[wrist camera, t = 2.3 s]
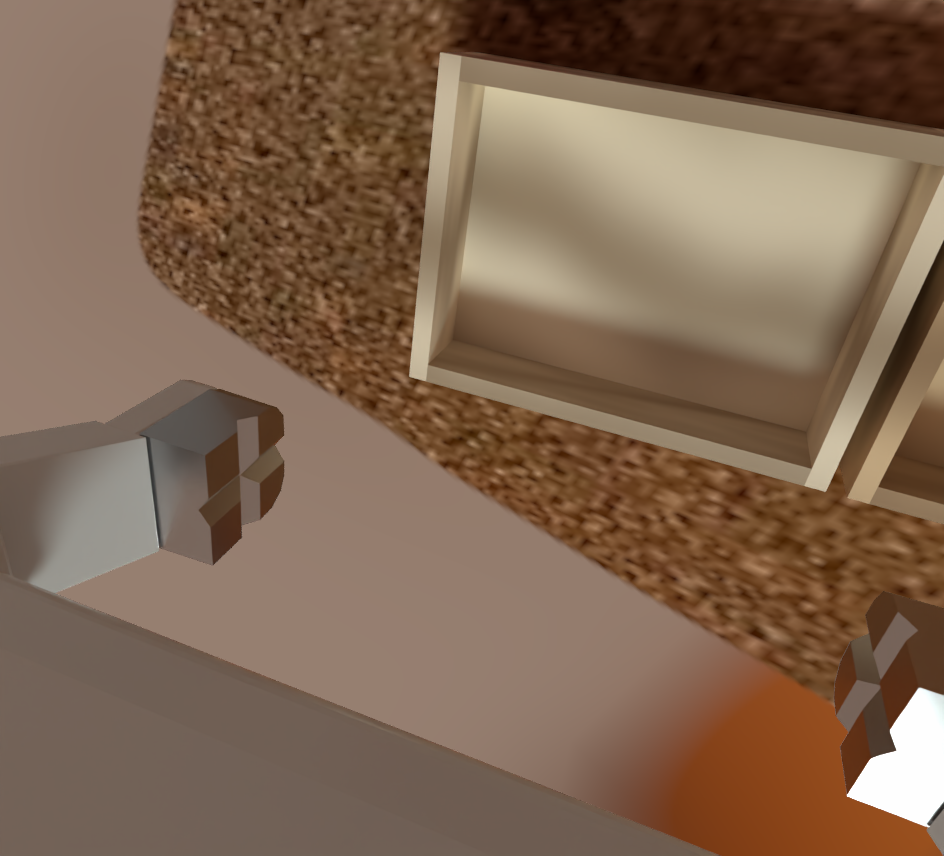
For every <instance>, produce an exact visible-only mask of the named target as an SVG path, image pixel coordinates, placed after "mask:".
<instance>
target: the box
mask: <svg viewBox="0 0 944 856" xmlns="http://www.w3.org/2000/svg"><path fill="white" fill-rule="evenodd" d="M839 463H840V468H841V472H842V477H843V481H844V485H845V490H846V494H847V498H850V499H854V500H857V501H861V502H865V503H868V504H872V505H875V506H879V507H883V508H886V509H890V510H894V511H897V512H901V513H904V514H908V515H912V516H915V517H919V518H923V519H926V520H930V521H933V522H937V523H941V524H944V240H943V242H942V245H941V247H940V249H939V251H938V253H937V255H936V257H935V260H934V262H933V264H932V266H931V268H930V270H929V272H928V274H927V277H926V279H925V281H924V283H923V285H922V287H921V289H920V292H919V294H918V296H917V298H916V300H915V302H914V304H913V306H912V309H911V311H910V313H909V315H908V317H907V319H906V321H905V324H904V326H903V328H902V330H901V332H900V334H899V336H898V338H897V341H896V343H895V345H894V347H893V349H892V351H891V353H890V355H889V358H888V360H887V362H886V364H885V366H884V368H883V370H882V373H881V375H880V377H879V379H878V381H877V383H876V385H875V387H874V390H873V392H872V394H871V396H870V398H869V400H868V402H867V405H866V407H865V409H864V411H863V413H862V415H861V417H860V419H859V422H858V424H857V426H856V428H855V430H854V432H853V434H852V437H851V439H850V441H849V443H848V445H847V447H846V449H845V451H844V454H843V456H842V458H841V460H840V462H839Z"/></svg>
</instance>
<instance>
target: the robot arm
mask: <svg viewBox="0 0 944 856" xmlns="http://www.w3.org/2000/svg"><path fill="white" fill-rule="evenodd" d="M283 436H284V423H283V414H282V413H281V412H280V411H279V409H278V408H277V407H274V406H270V405H267V404H265V403H261V402H258V401H255V400H252V399H249V398H246V397H243V396H240V395H237V394H234V393H231V392H228V391H225V390H221V389H217V388H215V387H212V386H209V385H205V384H202V383H199V382H195V381H192V380H180V381H178V382H176V383H175V384H173V385H171V386H169V387H167V388H166V389H164V390H162V391H160V392H159V393H157V394H155V395H154V396H152V397H150V398H148V399H147V400H145V401H143V402H141V403H140V404H138V405H136V406H135V407H133V408H131V409H129V410H128V411H126V412H124V413H122V414H121V415H119V416H117V417H116V418H114V419H112V420H110V421H109V422H107V423H105V424H103V423H100V422H97V421H92V422H87V423H80V424H74V425H68V426H62V427H57V428H50V429H45V430H38V431H32V432H26V433H21V434H14V435H8V436H2V437H0V856H720V855H717V854H715V853H712V852H710V851H707V850H704V849H702V848H699V847H697V846H695V845H692V844H690V843H687V842H684V841H682V840H679V839H677V838H674V837H672V836H669V835H667V834H664V833H662V832H659V831H657V830H654V829H652V828H649V827H647V826H644V825H641V824H639V823H637V822H634V821H631V820H629V819H626V818H624V817H621V816H619V815H616V814H614V813H611V812H609V811H606V810H604V809H601V808H598V807H596V806H594V805H591V804H588V803H586V802H584V801H581V800H578V799H576V798H573V797H571V796H568V795H566V794H563V793H561V792H558V791H556V790H553V789H551V788H548V787H546V786H543V785H541V784H538V783H536V782H533V781H531V780H528V779H525V778H523V777H520V776H518V775H515V774H513V773H510V772H508V771H505V770H502V769H500V768H497V767H495V766H492V765H490V764H487V763H485V762H482V761H480V760H477V759H474V758H472V757H469V756H467V755H464V754H462V753H459V752H457V751H454V750H452V749H449V748H447V747H444V746H442V745H439V744H436V743H434V742H431V741H428V740H426V739H424V738H421V737H419V736H416V735H414V734H411V733H408V732H406V731H403V730H400V729H398V728H396V727H393V726H391V725H388V724H386V723H383V722H380V721H378V720H375V719H373V718H370V717H368V716H365V715H363V714H360V713H358V712H355V711H352V710H350V709H347V708H345V707H342V706H340V705H337V704H335V703H332V702H330V701H327V700H325V699H322V698H319V697H317V696H314V695H312V694H309V693H307V692H304V691H301V690H299V689H297V688H294V687H291V686H289V685H286V684H284V683H281V682H279V681H276V680H274V679H271V678H268V677H266V676H264V675H261V674H258V673H256V672H253V671H251V670H248V669H245V668H243V667H241V666H238V665H236V664H233V663H230V662H228V661H225V660H223V659H220V658H218V657H215V656H213V655H210V654H208V653H205V652H203V651H200V650H197V649H195V648H192V647H190V646H187V645H185V644H182V643H180V642H177V641H175V640H172V639H170V638H167V637H165V636H162V635H159V634H157V633H154V632H152V631H149V630H147V629H144V628H142V627H139V626H137V625H134V624H132V623H129V622H126V621H124V620H121V619H119V618H116V617H114V616H111V615H109V614H106V613H104V612H101V611H99V610H96V609H93V608H91V607H88V606H86V605H83V604H81V603H78V602H76V601H73V600H70V599H68V598H66V597H63V596H61V595H58V594H55V593H57V592H59V591H62V590H64V589H67V588H69V587H72V586H74V585H77V584H79V583H82V582H84V581H87V580H89V579H91V578H94V577H96V576H99V575H101V574H104V573H106V572H109V571H111V570H114V569H116V568H118V567H121V566H123V565H126V564H128V563H131V562H133V561H136V560H138V559H141V558H143V557H145V556H148V555H151V554H153V553H156V552H158V551H159V548H161V549H164V550H167V551H170V552H173V553H176V554H179V555H183V556H185V557H188V558H191V559H195V560H197V561H200V562H203V563H207V564H210V565H214V564H215V563H216V562H217V561H218V560H219V559H220V558H221V557H222V556H223V555H224V554H225V553H227V551H229V550H230V549H231V548H232V547H233V546H234V545H235V544H236V543H237V542H238V541H239V540H240V539H241V538H242V525H245V524H248V523H251V522H254V521H258V520H260V519H261V518H263V517H264V515H265V514H266V513H267V512H268V511H269V510H270V509H271V508H272V506H273V505H274V503H275V501H276V499H277V497H278V495H279V493H280V491H281V487H282V482H283V478H284V460H283V458H282V457H281V455H280V453H279V451H278V450H277V448H276V446H275V445H276V444H277V442H278V441H279V440H280V439H281V438H282V437H283ZM866 620H867V625H868V630H869V634H867V635H864V636H862V637H860V638H857V639H855V640H853V641H850V643H849V645H848V647H847V649H846V651H845V653H844V655H843V657H842V659H841V661H840V664H839V668H838V672H837V676H836V680H835V688H834V704H835V712H836V717H837V718H838V719H839V721H840V722H841V723H842V724H843V726H844V727H845V728H846V729H847V731H848V732H849V733H848V734H847V736H846V738H845V739H844V741H843V743H842V745H841V746H840V750H841V757H842V764H843V770H844V777H845V784H846V791H847V796H849V797H852V798H854V799H857V800H860V801H862V802H865V803H867V804H870V805H872V806H875V807H878V808H880V809H883V810H885V811H888V812H890V813H893V814H896V815H898V816H901V817H903V818H906V819H908V820H911V821H914V822H916V823H919V824H921V825H924V826H926V827H929V828H928V829H927V832H928V833H929V835H930V836H931V838H932V839H933V841H934V842H935V844H936V845H937V847H938V848H939V850H940V851H941V852H942V854H943V856H944V608H942V607H938V606H935V605H931V604H928V603H924V602H921V601H917V600H914V599H910V598H907V597H903V596H899V595H896V594H892V593H889V592H885V591H883V592H882V593H881V594H880V595H879V596H878V597H877V598H876V599H875V600H874V601H873V603H872V605H871V606H870V608H869V610H868V612H867V613H866Z"/></svg>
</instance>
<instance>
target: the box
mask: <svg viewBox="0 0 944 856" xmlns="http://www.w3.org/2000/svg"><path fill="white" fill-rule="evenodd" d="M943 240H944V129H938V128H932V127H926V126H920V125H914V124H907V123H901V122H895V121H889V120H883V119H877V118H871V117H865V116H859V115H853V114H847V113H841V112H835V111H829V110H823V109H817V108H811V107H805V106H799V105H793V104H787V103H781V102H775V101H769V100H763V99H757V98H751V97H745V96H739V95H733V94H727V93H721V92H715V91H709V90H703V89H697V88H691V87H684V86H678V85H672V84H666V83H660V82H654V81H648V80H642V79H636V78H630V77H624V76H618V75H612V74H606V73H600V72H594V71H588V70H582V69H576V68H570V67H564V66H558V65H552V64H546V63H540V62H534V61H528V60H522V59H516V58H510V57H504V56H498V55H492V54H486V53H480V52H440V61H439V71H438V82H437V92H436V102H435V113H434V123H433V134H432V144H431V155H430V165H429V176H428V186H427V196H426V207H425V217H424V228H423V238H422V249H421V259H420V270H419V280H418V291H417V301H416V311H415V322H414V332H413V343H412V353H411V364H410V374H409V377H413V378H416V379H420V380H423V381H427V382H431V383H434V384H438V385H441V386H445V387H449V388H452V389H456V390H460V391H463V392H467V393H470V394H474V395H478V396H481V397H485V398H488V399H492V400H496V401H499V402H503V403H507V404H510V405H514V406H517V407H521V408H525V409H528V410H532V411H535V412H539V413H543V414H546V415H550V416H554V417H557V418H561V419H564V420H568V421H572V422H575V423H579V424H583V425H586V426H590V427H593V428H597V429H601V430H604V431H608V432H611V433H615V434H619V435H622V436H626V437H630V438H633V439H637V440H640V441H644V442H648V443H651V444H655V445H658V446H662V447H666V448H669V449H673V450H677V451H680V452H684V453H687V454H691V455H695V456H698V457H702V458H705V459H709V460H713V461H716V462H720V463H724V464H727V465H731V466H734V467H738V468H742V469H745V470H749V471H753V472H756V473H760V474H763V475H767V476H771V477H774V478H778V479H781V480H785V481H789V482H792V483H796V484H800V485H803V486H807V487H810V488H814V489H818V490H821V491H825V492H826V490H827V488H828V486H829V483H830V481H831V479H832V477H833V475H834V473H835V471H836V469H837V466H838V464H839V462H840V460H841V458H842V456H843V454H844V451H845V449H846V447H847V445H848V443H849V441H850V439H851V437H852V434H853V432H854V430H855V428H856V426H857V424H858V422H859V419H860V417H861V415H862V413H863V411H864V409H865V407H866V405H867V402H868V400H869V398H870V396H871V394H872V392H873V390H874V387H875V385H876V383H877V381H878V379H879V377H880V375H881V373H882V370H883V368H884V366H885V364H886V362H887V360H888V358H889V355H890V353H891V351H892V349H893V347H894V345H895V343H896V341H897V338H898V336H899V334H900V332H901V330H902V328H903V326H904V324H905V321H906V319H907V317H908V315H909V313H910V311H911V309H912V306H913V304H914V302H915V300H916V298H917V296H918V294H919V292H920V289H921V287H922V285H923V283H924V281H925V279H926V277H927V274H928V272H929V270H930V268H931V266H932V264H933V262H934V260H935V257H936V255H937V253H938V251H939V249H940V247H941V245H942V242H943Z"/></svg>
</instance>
